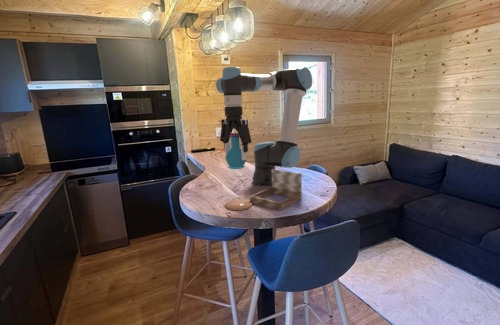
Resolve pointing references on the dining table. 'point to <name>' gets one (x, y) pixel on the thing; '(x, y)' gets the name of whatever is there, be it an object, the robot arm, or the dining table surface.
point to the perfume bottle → (235, 153)
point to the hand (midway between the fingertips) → (236, 158)
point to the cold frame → (281, 190)
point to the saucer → (238, 204)
